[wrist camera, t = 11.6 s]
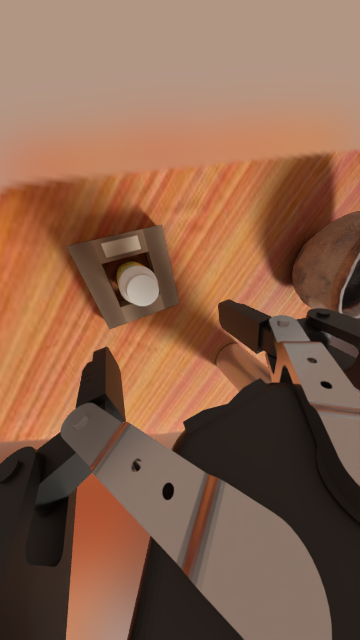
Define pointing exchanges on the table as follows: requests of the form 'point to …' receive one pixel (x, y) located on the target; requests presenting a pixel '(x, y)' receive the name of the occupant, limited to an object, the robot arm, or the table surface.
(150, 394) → the table surface
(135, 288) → the supplement bottle
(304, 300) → the ceramic bowl
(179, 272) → the table surface
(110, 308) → the socket holder
